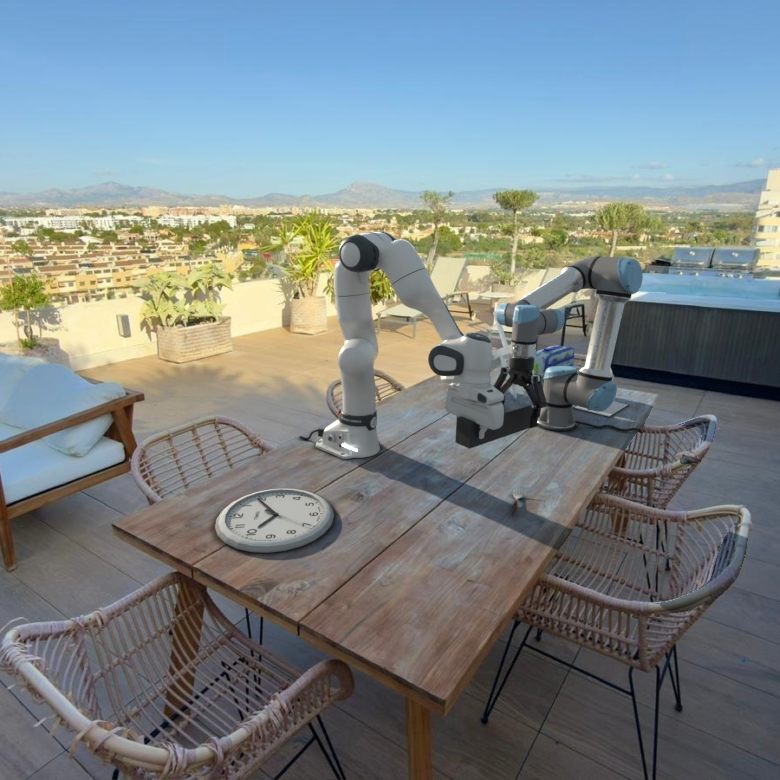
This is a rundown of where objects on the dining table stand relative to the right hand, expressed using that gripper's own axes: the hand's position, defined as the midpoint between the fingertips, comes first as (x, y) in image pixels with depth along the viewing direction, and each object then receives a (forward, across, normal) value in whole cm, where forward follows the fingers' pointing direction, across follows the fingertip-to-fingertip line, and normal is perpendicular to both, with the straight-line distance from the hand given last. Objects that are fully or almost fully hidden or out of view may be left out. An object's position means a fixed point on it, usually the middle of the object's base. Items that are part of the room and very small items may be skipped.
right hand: (516, 421), depth 167 cm
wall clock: (+14, -14, -78) cm, 80 cm away
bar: (+2, 0, -10) cm, 11 cm away
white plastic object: (+14, -58, +48) cm, 76 cm away
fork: (+14, +19, -21) cm, 32 cm away
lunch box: (+14, -41, +78) cm, 89 cm away
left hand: (0, 0, -21) cm, 21 cm away
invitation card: (+14, -13, +76) cm, 78 cm away
